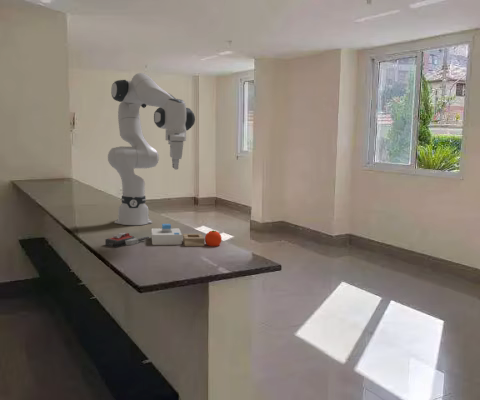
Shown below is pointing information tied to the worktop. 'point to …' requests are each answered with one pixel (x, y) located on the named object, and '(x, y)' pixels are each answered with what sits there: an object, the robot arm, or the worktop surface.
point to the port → (166, 237)
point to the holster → (193, 239)
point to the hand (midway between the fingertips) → (175, 168)
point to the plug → (166, 228)
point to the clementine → (213, 238)
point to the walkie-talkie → (122, 240)
